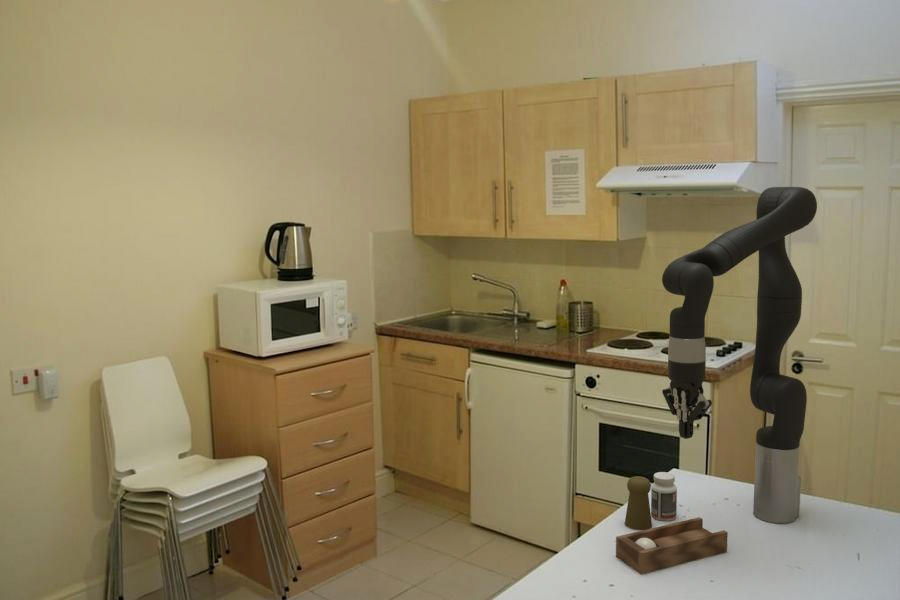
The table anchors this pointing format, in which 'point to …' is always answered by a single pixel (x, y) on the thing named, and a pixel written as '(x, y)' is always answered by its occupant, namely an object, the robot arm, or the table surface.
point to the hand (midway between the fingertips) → (685, 437)
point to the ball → (646, 543)
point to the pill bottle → (664, 497)
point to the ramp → (670, 545)
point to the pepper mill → (638, 504)
